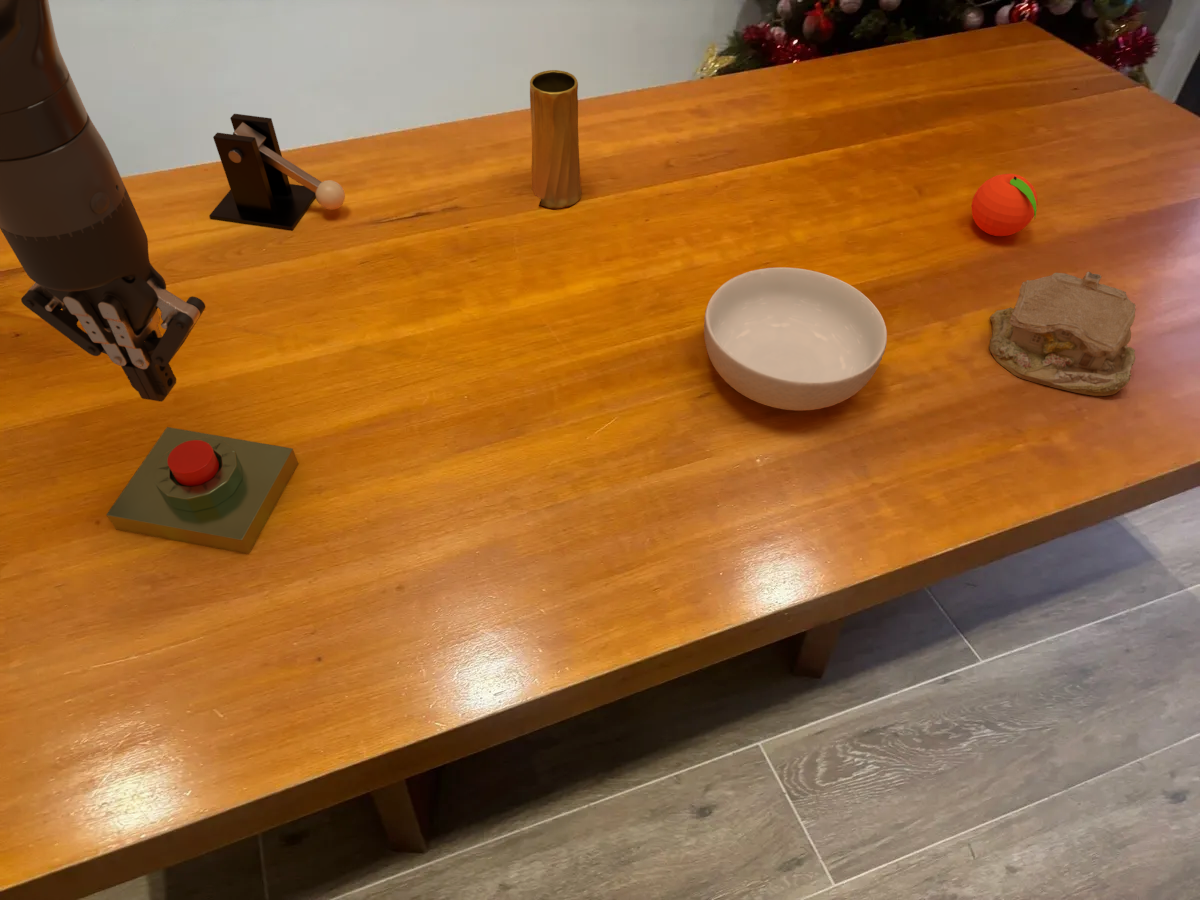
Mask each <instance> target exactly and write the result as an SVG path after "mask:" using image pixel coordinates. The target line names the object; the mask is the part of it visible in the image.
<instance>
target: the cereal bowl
mask: <svg viewBox="0 0 1200 900" xmlns="http://www.w3.org/2000/svg"><path fill="white" fill-rule="evenodd" d="M704 312H705V313H704V323H703V335H704V342H705V349H706V351H707V355H708V358H709V359H708V360H709V361H710V362H711V364H712V366H713V367H714V369H715V372H717V373H718V375H719V376H720V378H722V379H723V381H724V382H725V383H726V384H727V385H729V386H730V388H732V389H734V390H735V391H736V392H738V393H739V394H741V395H742V396H744V397H746V398H748V399H749V400H751V401H754V402H756V403H758V404H762V405H764V406H766V407H771V408H774V409H779V410H780V409H781V410H787V411H803V412H804V411H814V410H820V409H824V408H829V407H832V406H836V405H837V404H840V403H843V402H844V401H846V400H848V399H850V398H851V397H854V396H855V395H856V394H857V393H858V392H860V391H861V390H862V389H863V388H864V387H865V386H867V384H868V382H869V381H870V380H871V379H872V377H874V376H875V374H876V371H877V369H878V368H879V366H880V363H881V361H882V360H883V356H884V355H885V351H886V348H887V342H888V331H887V326H886V323H885V320H884V318H883V315H882V314H881V312H880V311H879V309H878V307H877V306H876V305H875V304H874V303H873V302H872V301H871V300H870V299H869V298H868V297H867V296H866V295H865V294H864V293H862V291H860V290H859V289H857V288H856V287H854V285H853V286H852V285H851V284H849V283H847V282H845V281H843V280H841V279H840V278H837V277H834V276H832V275H828V274H826V273H823V272H820V271H815V270H811V269H805V268H798V267H782V266H781V267H767V268H766V267H765V268H759V269H754V270H750V271H747V272H743V273H741V274H738V275H736V276H734V277H732V278H730V279H729V280H727V281H726V282H724V283H723V284H721V286H720V287H718V288H717V290H716V291H715V292H714V293H713V294H712V296H711V297H710V299H709V301H708V303H707V306H706V309H705V311H704Z"/></svg>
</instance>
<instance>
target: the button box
mask: <svg viewBox="0 0 1200 900" xmlns="http://www.w3.org/2000/svg"><path fill="white" fill-rule="evenodd" d="M192 440H201V441H204V442H206V443H208V444H209V445H210V446H211V447H212V449H213V451H214V453H215V455H216V457H217V459H218V462H219V469H218V471H217V473H216V475H215V476H214V477H213V478H212V479H211V480H209V481H208V482H206V483H204V484H201V485H197V486H185V485H182V484H180V483H179V482H177V480H176V479H175V477H174V475H173V473H172V472H171V470H170V468H169V466H168V462H167V461H168V456H169V454H170V453H171V451H172V450H173V449H174V448H175V447H177V446H178V445H180V444H182V443H184V442H187V441H192ZM298 465H299V462H298V458H297V455H296V453H295V450H294V448H292V447H287V446H280V445H275V444H268V443H264V442H263V443H262V442H257V441H250V440H246V439H240V438H235V437H228V436H222V435H216V434H210V433H204V432H200V431H199V432H198V431H193V430H188V429H182V428H175V427H170V426H167V427H165V429H164V431H163V432H162V433H161V435H160V436H159V438H158V439H157V441H156V442H155V444H154V445H153V446H152V448H151V450H150V451H149V452H148V453H147V455H146V456H145V458H144V460H143V461H142V462H141V464H140V465H139V467H138V468H137V469H136V471H135V472H134V474H133V476H132V477H131V478H130V480H129V481H128V483H127V484H126V485H125V486H124V488H123V489H122V491H121V492H120V494H119V495H118V497H117V498H116V500H115V502H114V503H113V504H112V505H111V507H110V509H109V510H108V511H107V513H106V517H107V518H108V520H109V521H110V523H111V525H112V526H113V527H114V529H115V530H116V531H122V532H127V533H132V534H136V535H137V534H138V535H143V536H148V537H153V538H158V539H163V540H169V541H175V542H181V543H186V544H191V545H196V546H202V547H207V548H212V549H217V550H222V551H229V552H233V553H240V554H245V555H250V554H251V552H252V550H253V549H254V547H255V544H256V543H257V541H258V539H259V537H260V535H261V534H262V532H263V530H264V528H265V526H266V524H267V523H268V521H269V519H270V517H271V515H272V513H273V511H274V510H275V508H276V506H277V504H278V503H279V501H280V498H281V497H282V495H283V493H284V492H285V490H286V488H287V487H288V483H289V482H290V480H291V478H292V477H293V474H294V473H295V471H296V469H297V467H298Z"/></svg>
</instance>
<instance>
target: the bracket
mask: <svg viewBox="0 0 1200 900" xmlns="http://www.w3.org/2000/svg"><path fill="white" fill-rule="evenodd" d="M229 119H230V123H231V125H232V129H233V132H234V131H235V130H236V129H237V128H238V127H239V126H240V124H241V123H242V122H243V123H245V124H246V125H248V126H249V127H251V128H253V129H254V130H256V131H257V132H259V133H260V134H262V135H263V136H265V137H266V139H265V142H264V144H263V145H264V146H266V147H267V148H269V149H270V150H272V151H274V152H275V153H277V154H278V155H280V156H281V157H283V156H282V151H281V148H280V143H279V141H278V137H277V134H276V129H275V126H274V123H273V119H272V118H271V117H264V116H257V115H250V114H249V115H248V114H242V113H241V114H240V113H233V114H232V115H231V117H230V118H229ZM212 138H213V141H214V144H215V147H216V150H217V153H218V156H219V159H220V162H221V164H222V168H223V171H224V174H225V177H226V180H227V183H228V185H229V188H230V190H229V191H227V193H226V195H225V196H224V197H223V198H221V200H220V202H219V203H218V204H217V205H216V206H215V208H214V209H213V210H212V212H210V214H209V216H208V217H209V219H210V220H214V221H220V222H227V223H234V224H241V225H247V226H255V227H262V228H269V229H276V230H283V231H290V232H291V231H292V232H293V231H294V230H295V229H296V227H297V225H298V224H299V223H300V221H301V220H302V218H303V217H304V216H305V214H306V213H307V211H308V210H309V208H310V207H311V205H312V204H313V203H314V202H315V200H317V199H316V195H315V193H314V192H313V191H311V190H310V189H308V188H306V187H305V186H303V185H302V184H294V183H290V180H289V176H287V175H286V174H284V173H283V172H281V171H279V170H278V169H276V168H275V167H273V166H271V165H270V164H268V163H267V162H265V161H263V160H262V159H261V155H260V152H259V149H258V145H257V142H256V138H255V137H248V136H240V135H233V133H224V132H216V133H215V135H213V137H212Z"/></svg>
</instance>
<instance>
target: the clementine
mask: <svg viewBox="0 0 1200 900" xmlns="http://www.w3.org/2000/svg"><path fill="white" fill-rule="evenodd" d="M1035 189H1036V188H1035V187H1034V186H1033V184H1032V183H1031V182H1030V181H1028V179H1026V177H1023V176H1021V175H1019V174H1015V173H1003V174H996V175H995V176H992V177H990V178H989V179H986V180H985V181H984V182H983V183H982V184H981V185H980V186H979V187H978V188H977V190H976V191H975V194H974V195H973V198H972V200H971V215H972V216H971V217H972V219H973V221H974V223H975V225H976V226H977V227H978V228H979V229H980V230H982V231H983V232H984V233H986V234H988V235H990V236H995V237H1008V236H1012V235H1015V234H1016V233H1019V232H1021V231H1022V230H1023V229H1025V228H1026V227H1027V226H1028V225H1029V224H1030V223H1031V222H1032V220H1033V219H1034V218H1037V217H1036V216H1037V208H1038V195H1037V192H1036V190H1035Z"/></svg>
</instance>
